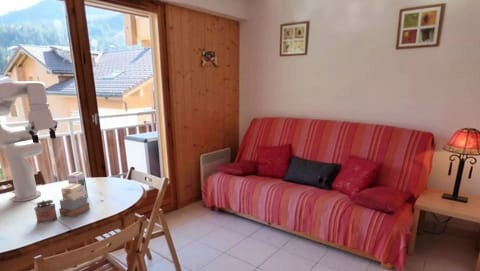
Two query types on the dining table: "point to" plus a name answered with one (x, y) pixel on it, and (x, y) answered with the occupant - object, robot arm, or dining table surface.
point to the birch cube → (72, 192)
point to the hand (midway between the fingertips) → (44, 140)
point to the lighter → (45, 212)
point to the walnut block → (74, 211)
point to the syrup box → (78, 181)
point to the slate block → (73, 203)
